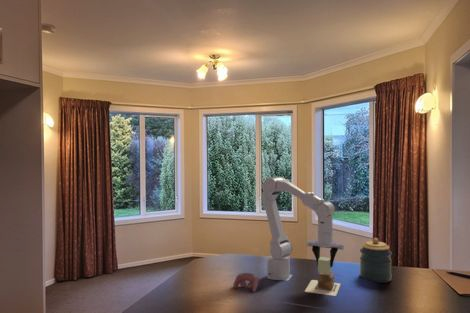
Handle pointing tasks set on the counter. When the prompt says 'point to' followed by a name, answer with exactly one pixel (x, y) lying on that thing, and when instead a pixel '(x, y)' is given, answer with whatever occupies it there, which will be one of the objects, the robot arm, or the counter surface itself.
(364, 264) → the canister
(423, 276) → the counter surface
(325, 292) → the cream square tray
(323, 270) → the sage block
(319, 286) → the walnut block
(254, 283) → the video game controller
